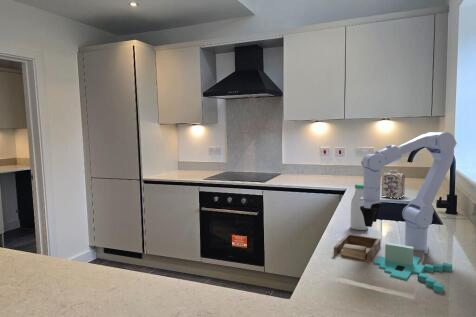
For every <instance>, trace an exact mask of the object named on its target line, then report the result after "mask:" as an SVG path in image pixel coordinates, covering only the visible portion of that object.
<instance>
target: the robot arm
mask: <svg viewBox="0 0 476 317" xmlns="http://www.w3.org/2000/svg"><path fill="white" fill-rule="evenodd" d="M457 144H458V143H457V141H456V138H455V136H454V135H453V134H452V133H451V132H449V131H444V132H433V131H430V132H427V133H423V134H421V135H419V136H417V137H415V138H412V139H411V140H408V141H406V142H404V143H402V144H400V145H398V146H397V145H396V144H388V145H386V146H385V148H382V149H380V150H374V153H367V154H366V155H364V156H363V157H362V160H361V161H360V164H361V166H362V168H363V184H364V186H363V198H360V200H362V201H363V202H364V206H360V210H361V211H362V214H363V217H364V222H365V226H368V228H372V227H373V224H374V223H377V219H378V216H379V212H380V209H381V207H382V205H383V202H381V185H382V170H383V169H384V167H385V166H387V165H390V164H392V163H394V162H397V161H400V160H401V158H402V156H403V155H405V154H407V153H410V152H413V151H417V150H418V149H421V148H423V147H424V148H425V149H426V150H427V151H428V152H429V153H430V155H432V158H433V161H432V164H431V166H430V168H429V170H428V172H427V174H426V176H425V177H424V178H425V179H424V180H423V183H422V185H421V187H420V189H419V190H418V192H417V194H416V196H415V198H413V199H412V200H410V201H409V203H408V204H407V205H406V206H405V207H403V209H402V213H401V215H402V218H403V220H405V221H404V222H405V229H404V230H405V233H404V245H405V246H412V247H414V251H423V254H425V255H428V252H429V248H430V247H429V246H430V245H428V229H429V226H431V224H432V222H433V215H434V212H435V209H434V207H433V203H434V201H435V199H436V196H437V194H438V192H439V190H440V188H441V186H442V184H443V182H444V180H445V178H446V177H447V174H448V172H449V170H450V168H451V166H452V164H453V161H454V157H455V156H454V154H455V153H454V152H455V147H456V146H457Z"/></svg>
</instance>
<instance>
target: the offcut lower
mask: <svg viewBox="0 0 476 317" xmlns="http://www.w3.org/2000/svg"><path fill="white" fill-rule="evenodd" d="M367 253H368V252H367V251H366V252H365V254H358V253H352V252H346V251H343V249H342V250H341V255H344V256H349V257H355V258H360V259H366V258H367Z"/></svg>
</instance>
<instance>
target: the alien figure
mask: <svg viewBox="0 0 476 317" xmlns="http://www.w3.org/2000/svg"><path fill="white" fill-rule="evenodd" d="M421 260H422V259H421V257H418V256H414V255H413V265H412V266H411V265H406V264H401V263H395V262H390V261H385V256H381V255H380V256H378V257H377V259H375V261H373V264H374V265H378V268H379V269H381V270H384V272H383V273H387V274H390V275H389V277H390V278H396V279H400V280H403V281H408V279H409V278H410V276H411V275H412V274H416V275H417V278H418V282H423V283H425V287H429V288H432V292H437V293H440V294H443V293H444V290H445V289H444V288H445V285H444V284H443V283H439V282H437V279H436V278H431V277H429V274H427V273H424V272H428V273H433V272H434V271H435V272H439V273H443V271H446V272H452V270H453V264H451V263H448V262H447V263H446V262H444V263H443V264H440V263H436V262H435V263H433V264H429V263H425V264H424V265H423V264H419V263H420V262H421Z"/></svg>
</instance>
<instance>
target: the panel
mask: <svg viewBox="0 0 476 317" xmlns="http://www.w3.org/2000/svg"><path fill="white" fill-rule="evenodd" d="M384 246H385V249H384V250H385V251H384V253H385V254H384V257H385V261H390V262H395V263H401V264H406V265H411V266H412V265H413V256H414V251H415V250H414V247H412V246H405V244H399V243H392V242H385V245H384Z"/></svg>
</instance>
